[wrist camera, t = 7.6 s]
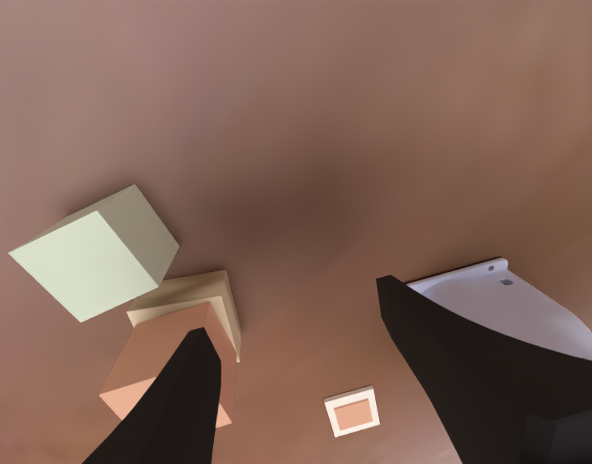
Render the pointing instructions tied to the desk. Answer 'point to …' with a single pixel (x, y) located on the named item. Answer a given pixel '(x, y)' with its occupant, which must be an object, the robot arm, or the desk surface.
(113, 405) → the terracotta cube
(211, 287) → the maple base
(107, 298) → the sage cube
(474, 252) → the desk surface
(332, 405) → the tile
